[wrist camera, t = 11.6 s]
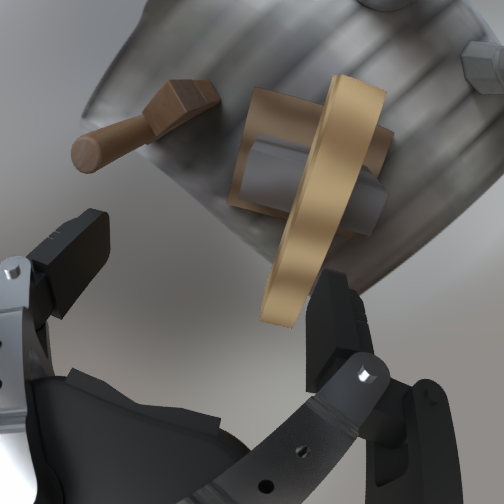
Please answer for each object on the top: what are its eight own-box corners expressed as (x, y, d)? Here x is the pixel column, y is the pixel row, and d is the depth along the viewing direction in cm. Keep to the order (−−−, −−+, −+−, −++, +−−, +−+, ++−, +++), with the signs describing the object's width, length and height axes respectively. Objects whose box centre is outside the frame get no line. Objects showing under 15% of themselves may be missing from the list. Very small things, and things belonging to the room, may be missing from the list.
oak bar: (333, 75, 22) (342, 74, 18) (370, 89, 22) (387, 91, 18) (263, 290, 35) (259, 320, 31) (292, 298, 35) (292, 328, 31)
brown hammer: (222, 101, 35) (172, 117, 20) (157, 140, 39) (81, 183, 24) (209, 78, 34) (149, 78, 19) (144, 119, 37) (62, 151, 22)
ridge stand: (256, 87, 34) (242, 88, 24) (389, 130, 35) (425, 151, 24) (229, 198, 43) (209, 240, 32) (349, 232, 43) (365, 282, 33)
